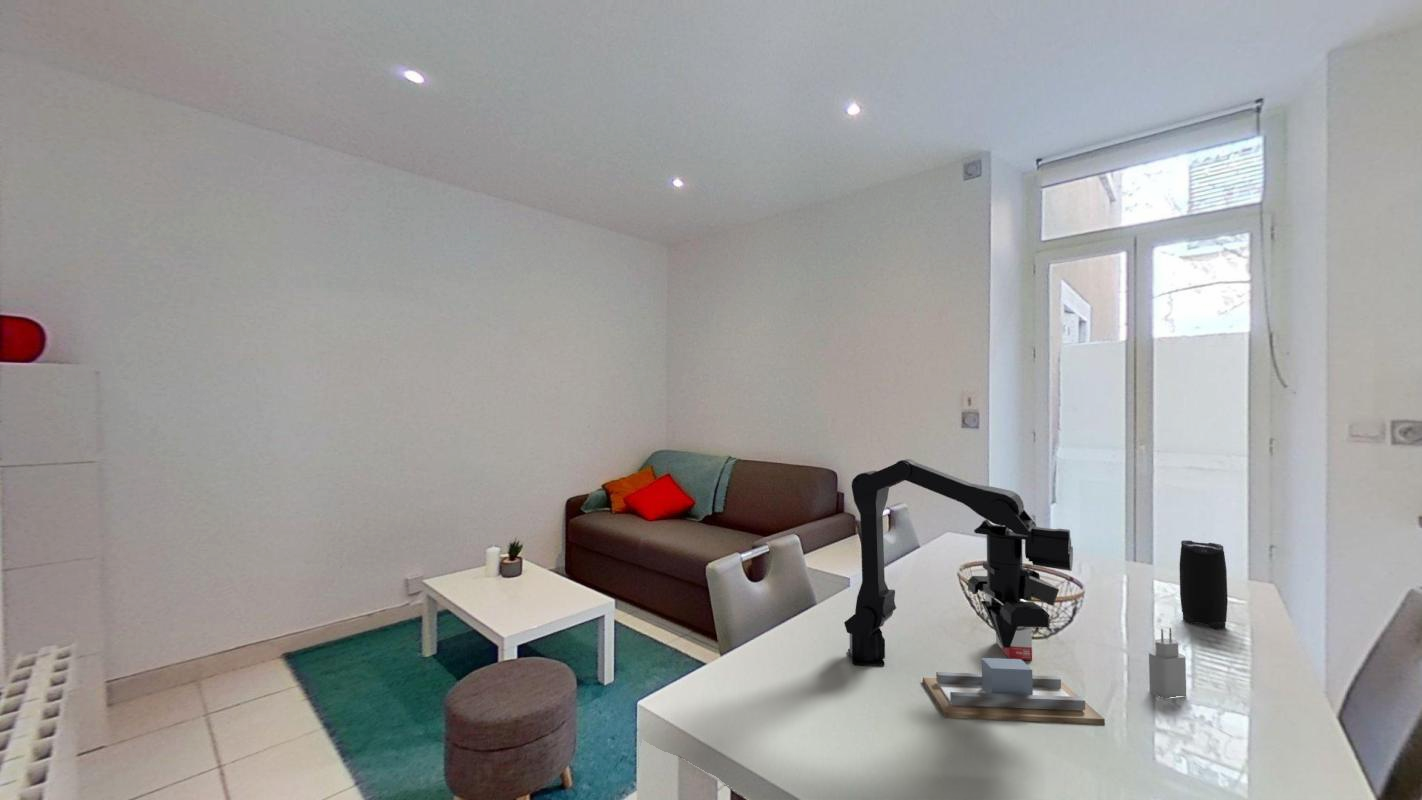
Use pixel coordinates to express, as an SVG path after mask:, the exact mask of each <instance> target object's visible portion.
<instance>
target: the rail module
mask: <svg viewBox="0 0 1422 800" xmlns="http://www.w3.org/2000/svg"><path fill="white" fill-rule="evenodd" d="M981 674H982V688H983V690H984V691H985V692H986V693H991V694H1017V695H1033V682H1032V675H1033V668H1031V667H1030V666H1029V665H1028V664H1026V662H1024V660H1023V659H1011V658H999V657H996V658H994V657H993V658H992V657H981Z"/></svg>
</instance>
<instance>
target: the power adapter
mask: <svg viewBox="0 0 1422 800" xmlns="http://www.w3.org/2000/svg"><path fill="white" fill-rule="evenodd" d="M1168 629H1169V634H1168V635H1169V638H1164V629H1163V628H1161V629H1160V630H1161V631H1160V633H1161V634H1160V636H1161V638H1158V639H1155V640H1154V645H1155V646H1154V649H1155V650H1154V651H1148V671H1149V672H1148V677H1149V679H1148V681H1149V682H1148V683H1149V692H1150V691H1151V692H1152V694H1153V693H1154V694H1153V695H1155V694H1156V695H1155V696H1157V695H1158V696H1157V697H1159V696H1160V697H1159V698H1161V697H1163V698H1162V699H1164V698H1170V697H1176V696H1186V697H1187V668H1186V666H1187V664H1186V663H1187V662H1186V656H1185V655H1184V654H1181V653H1179V642H1178V640H1177V639H1173V637H1172V627H1169V628H1168ZM1151 692H1150V693H1151Z"/></svg>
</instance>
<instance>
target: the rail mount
mask: <svg viewBox="0 0 1422 800" xmlns="http://www.w3.org/2000/svg"><path fill="white" fill-rule="evenodd" d="M935 674H936V675H935V677H922V683H923V684H924V687H925V688H926V690H927V691H928V692H929V694H930V696H931V698H932V699H933V700H934V702H935V704H936V705H937V706H938V708H939V710H940V712H941V713H942V715H943V717H944V718H953V719H981V720H983V719H984V720H1002V721H1003V720H1004V721H1005V720H1006V721H1027V722H1028V721H1031V722H1047V723H1048V722H1052V723H1055V722H1056V723H1073V724H1074V723H1076V724H1077V723H1080V724H1099V725H1102V724H1103V725H1105V722H1106V721H1105V718H1104V717H1103V716H1102V715H1101V714H1100V713H1099V712H1097V711H1096V710H1095V709H1094V708H1093V707H1092V706H1091V705H1089V704H1088V703H1087V702H1086V700H1085V699H1084V698H1083V697H1082V696H1079V695H1078V694H1077V693H1076V692H1074V691H1073V690H1072V689H1071V688H1070V687H1069V686H1068V685H1066V683H1064V682H1062V679H1061V678H1060V677H1059V676H1057V675H1035V674H1034V675H1033V674H1032V682H1033V695H1017V694H991V693H986V692H985V691H984V690H983V688H982V673H978V672H977V673H975V672H971V673H970V672H947V671H946V672H943V671H941V672H939V671H937V672H936V673H935Z"/></svg>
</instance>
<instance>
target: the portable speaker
mask: <svg viewBox="0 0 1422 800" xmlns="http://www.w3.org/2000/svg"><path fill="white" fill-rule="evenodd" d="M1180 544H1181V545H1180V555H1179V596H1180V597H1179V598H1180V606H1181V612H1182V620H1183V621H1184V622H1186V623H1188V624H1189V625H1193V624H1195V623H1198V624H1201V625H1206V626H1209V628H1210V629H1212V630H1223V629H1225V628H1226V623H1227V614H1228V599H1229V598H1228V577H1227V576H1228V575H1227V573H1228V571H1227V563H1226V556H1225V551H1224V546H1223V545H1221V544H1219V543H1215V542H1208V543H1207V542H1206V543H1205V542H1198V541H1197V542H1196V541H1192V540H1189V539H1188V540H1185V539H1184V540H1181V541H1180Z"/></svg>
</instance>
